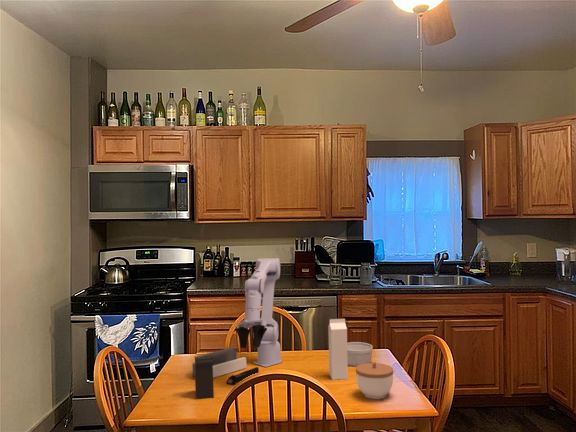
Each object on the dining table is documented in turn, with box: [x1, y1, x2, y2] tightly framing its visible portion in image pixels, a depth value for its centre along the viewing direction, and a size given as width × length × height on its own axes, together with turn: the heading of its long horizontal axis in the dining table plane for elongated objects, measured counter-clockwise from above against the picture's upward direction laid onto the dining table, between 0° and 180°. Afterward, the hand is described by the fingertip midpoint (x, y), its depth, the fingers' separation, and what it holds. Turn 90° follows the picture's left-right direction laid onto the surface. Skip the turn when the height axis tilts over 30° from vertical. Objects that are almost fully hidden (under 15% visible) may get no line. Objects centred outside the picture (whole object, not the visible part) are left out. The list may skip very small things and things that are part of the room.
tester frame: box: [191, 346, 237, 378], centre depth 196 cm, size 21×8×7 cm, turn 134°
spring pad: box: [213, 356, 247, 379], centre depth 193 cm, size 21×2×6 cm, turn 134°
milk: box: [327, 318, 349, 381], centre depth 187 cm, size 6×6×22 cm
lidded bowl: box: [355, 361, 394, 400], centre depth 168 cm, size 13×13×11 cm
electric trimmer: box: [226, 366, 260, 386], centre depth 187 cm, size 4×16×3 cm, turn 141°
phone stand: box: [194, 359, 215, 400], centre depth 172 cm, size 9×6×12 cm, turn 11°
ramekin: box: [347, 341, 373, 367], centre depth 205 cm, size 13×13×7 cm
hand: (249, 347), depth 180 cm, fingers open, 7 cm apart
